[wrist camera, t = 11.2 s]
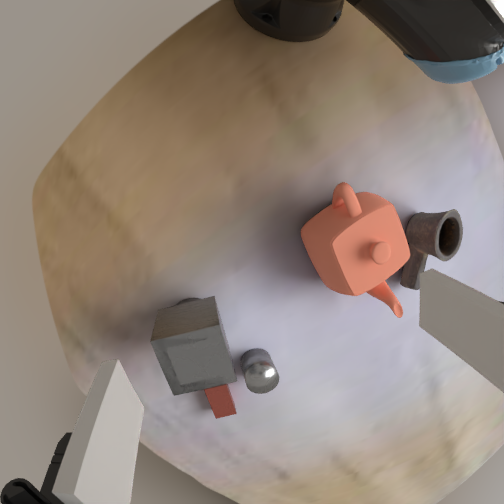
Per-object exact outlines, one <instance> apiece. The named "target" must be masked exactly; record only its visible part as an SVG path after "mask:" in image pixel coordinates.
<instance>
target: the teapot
mask: <svg viewBox="0 0 504 504" xmlns="http://www.w3.org/2000/svg"><path fill="white" fill-rule="evenodd" d="M301 238H302V240H303V243H304V246H305V248H306V250H307V253H308V255H309V257H310V259H311V261H312V263H313V265H314V267H315V269H316V271H317V273H318V274H319V276H320V278H321V279H322V281H323V283H324V284H325V285H326V286H327V287H328V288H330V289H331V290H333V291H336V292H338V293H341V294H345V295H351V296H358V295H361V294H363V293H365V292H367V293H368V294H370V295H372V296H373V297H375V298H377V299H379V300H381V301H383V302H384V303H386V304H387V305H388V306H389V307H390V308H391V309H392V311H393V312H394V314H395V315H396V316H397V317H399V318H401V317H402V315H403V310H402V306H401V304H400V303H399V301H398V299H397V298H396V296H395V295H394V294H393V292H392V291H391V289H390V288H389V286H388V284H387V283H386V281H385V280H386V279H388V278H389V277H390V276H391V275H393V274H394V273H395V272H396V271H398V270H399V269H400V268H401V267H402V266H403V265H404V264H405V263H406V262H407V261H408V259H409V258H410V250H409V246H408V242H407V239H406V236H405V233H404V230H403V227H402V225H401V222H400V219H399V216H398V214H397V212H396V210H395V207H394V206H393V204H391V203H390V202H389V201H387V200H385V199H384V198H382V197H380V196H378V195H376V194H372V193H368V192H360V193H356V194H355V193H354V191H353V189H352V187H351V186H350V185H349V184H347V183H345V182H342V183H340V184H338V185H337V186H336V188H335V190H334V192H333V200H332V204H331V205H329V206H328V207H326V208H325V209H323V210H322V211H320V212H319V213H318V214H316V215H315V216H314V217H313V218H311V219H310V220H309V221H308V222H307V223H306V224H305V225H304V226H303V227H302V229H301Z"/></svg>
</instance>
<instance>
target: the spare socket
mask: <svg viewBox="0 0 504 504" xmlns="http://www.w3.org/2000/svg"><path fill="white" fill-rule="evenodd" d="M241 367H242V371H243V375H244V378H245V382H246V385H247V387H248V389H249V390H250V391H252V392H254V393H258V394H262V393H267V392H269V391H271V390H273V389H274V388H275V387H276V386H277V384H278V382H279V375H278V372H277V370H276V368H275V366H274V364H273V362H272V359H271V357H270V355H269V353H268V352H267V351H265V350H263V349H259V348H256V349H251V350H249V351H247V352H246V353H245V354H244V355H243V356H242V358H241Z"/></svg>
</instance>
